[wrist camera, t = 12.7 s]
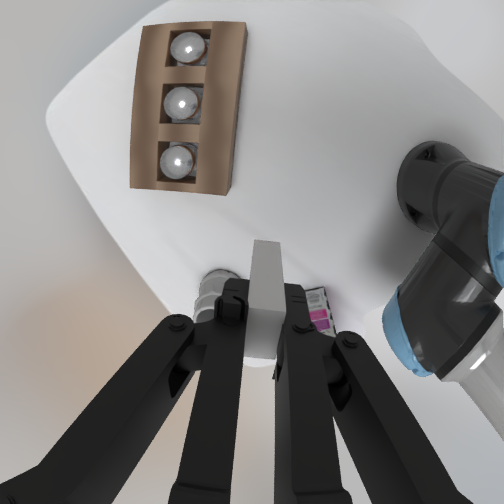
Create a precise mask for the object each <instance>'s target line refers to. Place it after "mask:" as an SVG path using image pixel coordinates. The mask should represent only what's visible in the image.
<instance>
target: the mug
mask: <svg viewBox="0 0 504 504" xmlns="http://www.w3.org/2000/svg"><path fill="white" fill-rule="evenodd" d="M229 278H238V277H237V276H236V275H235V274H233V273H231V272H230V273H228V272H227V271H225V270H217V271H213V272H211V273H210V274H208V275H207V276H206V277H205V278H204V279H203V280H202V282H201V283H200V288H199V297H198V298H197V300H196V301H195V307H194V309H195V312H194V316H193V321H194V323H201V322H206V321H209V320H211V319H213V318H214V301H215V300H216V298H217V297H219V296H220V295H222V291H223V287H224V283H225V282H226V281H227V280H228V279H229ZM238 279H239V278H238Z"/></svg>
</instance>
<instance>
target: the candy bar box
mask: <svg viewBox="0 0 504 504" xmlns="http://www.w3.org/2000/svg"><path fill="white" fill-rule="evenodd" d="M305 292H306V298H307V304H308V308H309V313H310V318H311V321H312V322H313V323H314V324H315V325H316V327H317V330H318V331H319V332H321V333H323V334H325V335H329V336H332V337H336V335H337V334H336V330H335V326H334V322H333V318H332V314H331V311H330V307H329V303H328V300H327V296H326V293H325V288H324V287H321V288H317V289H312V290H306V291H305Z"/></svg>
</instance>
